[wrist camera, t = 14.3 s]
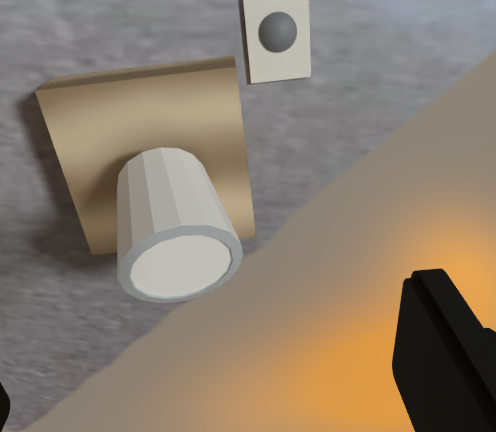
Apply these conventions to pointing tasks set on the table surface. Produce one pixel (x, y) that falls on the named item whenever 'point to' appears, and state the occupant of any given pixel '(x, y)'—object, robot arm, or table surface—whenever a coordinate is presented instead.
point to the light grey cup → (172, 229)
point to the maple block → (147, 134)
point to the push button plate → (278, 39)
